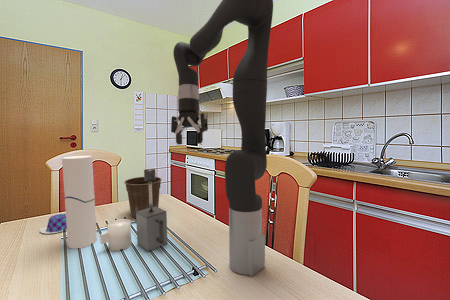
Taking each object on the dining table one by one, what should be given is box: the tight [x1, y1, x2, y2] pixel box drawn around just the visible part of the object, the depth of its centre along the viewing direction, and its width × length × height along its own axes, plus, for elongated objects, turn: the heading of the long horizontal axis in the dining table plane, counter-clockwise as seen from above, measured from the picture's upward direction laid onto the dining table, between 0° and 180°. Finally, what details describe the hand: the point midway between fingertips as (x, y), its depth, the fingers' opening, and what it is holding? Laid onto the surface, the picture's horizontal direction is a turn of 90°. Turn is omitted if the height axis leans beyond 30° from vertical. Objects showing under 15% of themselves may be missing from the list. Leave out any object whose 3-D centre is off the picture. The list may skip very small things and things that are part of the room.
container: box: [61, 155, 98, 250], centre depth 79 cm, size 9×9×30 cm
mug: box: [99, 218, 132, 252], centre depth 76 cm, size 7×9×8 cm
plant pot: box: [123, 176, 163, 219], centre depth 106 cm, size 16×16×16 cm
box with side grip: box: [135, 206, 168, 253], centre depth 77 cm, size 10×7×12 cm
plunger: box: [143, 168, 157, 213], centre depth 77 cm, size 5×5×16 cm
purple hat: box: [39, 213, 67, 235], centre depth 92 cm, size 12×12×5 cm
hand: (189, 144), depth 83 cm, fingers open, 8 cm apart
